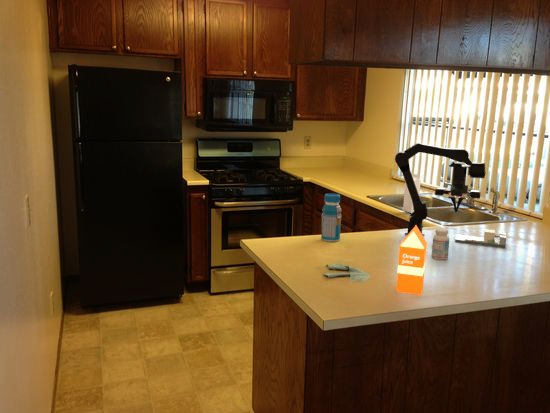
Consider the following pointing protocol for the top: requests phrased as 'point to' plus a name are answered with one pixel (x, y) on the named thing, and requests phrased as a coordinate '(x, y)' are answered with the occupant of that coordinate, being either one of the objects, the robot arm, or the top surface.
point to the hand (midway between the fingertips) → (455, 211)
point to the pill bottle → (440, 244)
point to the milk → (407, 198)
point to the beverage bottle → (331, 218)
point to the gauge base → (482, 240)
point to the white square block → (490, 235)
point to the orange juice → (411, 263)
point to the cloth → (354, 273)
